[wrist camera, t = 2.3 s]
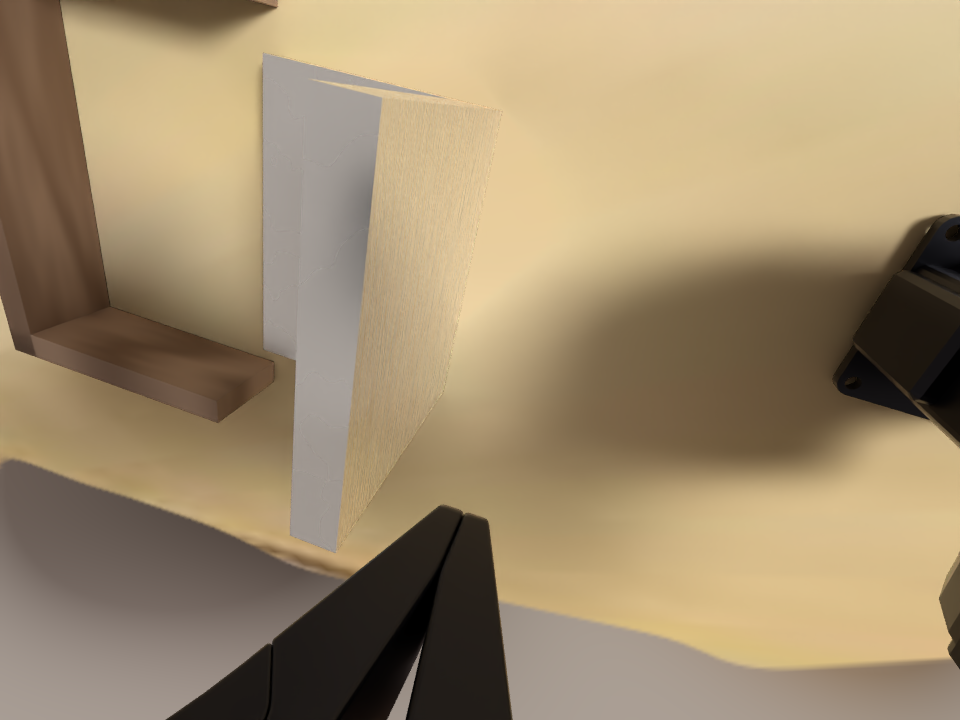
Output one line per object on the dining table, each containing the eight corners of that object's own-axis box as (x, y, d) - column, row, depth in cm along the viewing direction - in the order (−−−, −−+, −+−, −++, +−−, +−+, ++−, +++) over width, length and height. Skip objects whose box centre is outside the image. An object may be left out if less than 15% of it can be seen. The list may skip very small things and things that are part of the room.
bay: (277, -34, 17) (189, -75, 14) (273, 381, 25) (218, 422, 22) (18, -91, 19) (-122, -142, 15) (94, 320, 27) (15, 349, 23)
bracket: (502, 110, 17) (382, 97, 9) (444, 390, 23) (336, 553, 14) (288, 57, 18) (-11, -2, 10) (282, 337, 24) (91, 458, 15)
